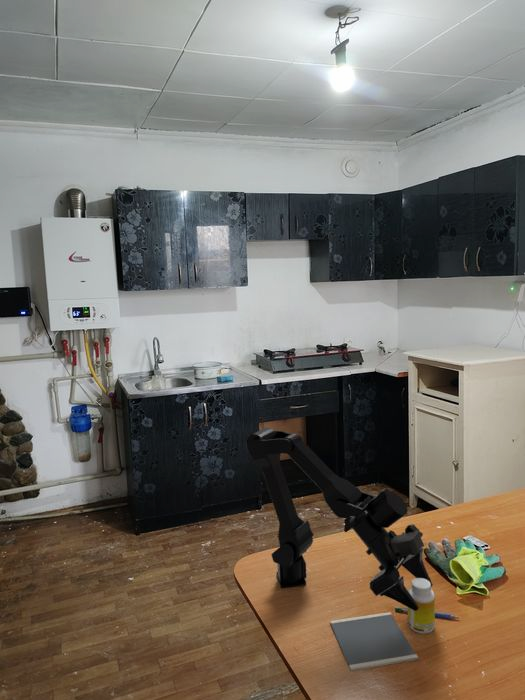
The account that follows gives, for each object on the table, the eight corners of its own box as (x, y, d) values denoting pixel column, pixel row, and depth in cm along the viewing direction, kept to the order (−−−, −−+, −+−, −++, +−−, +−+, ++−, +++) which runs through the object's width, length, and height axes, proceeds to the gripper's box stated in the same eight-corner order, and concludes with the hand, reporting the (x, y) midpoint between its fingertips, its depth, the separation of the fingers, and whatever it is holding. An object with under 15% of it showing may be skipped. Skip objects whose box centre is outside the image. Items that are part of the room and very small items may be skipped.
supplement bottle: (440, 629, 112) (440, 586, 111) (420, 638, 110) (420, 594, 108) (421, 614, 117) (422, 572, 116) (402, 622, 115) (402, 580, 113)
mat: (350, 670, 102) (350, 668, 102) (330, 623, 116) (330, 621, 116) (417, 659, 104) (418, 657, 104) (390, 614, 118) (390, 612, 118)
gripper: (383, 538, 105) (438, 606, 101) (414, 502, 120) (463, 560, 116) (348, 563, 111) (398, 628, 106) (382, 525, 126) (428, 581, 121)
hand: (424, 597), depth 112 cm, fingers open, 9 cm apart
